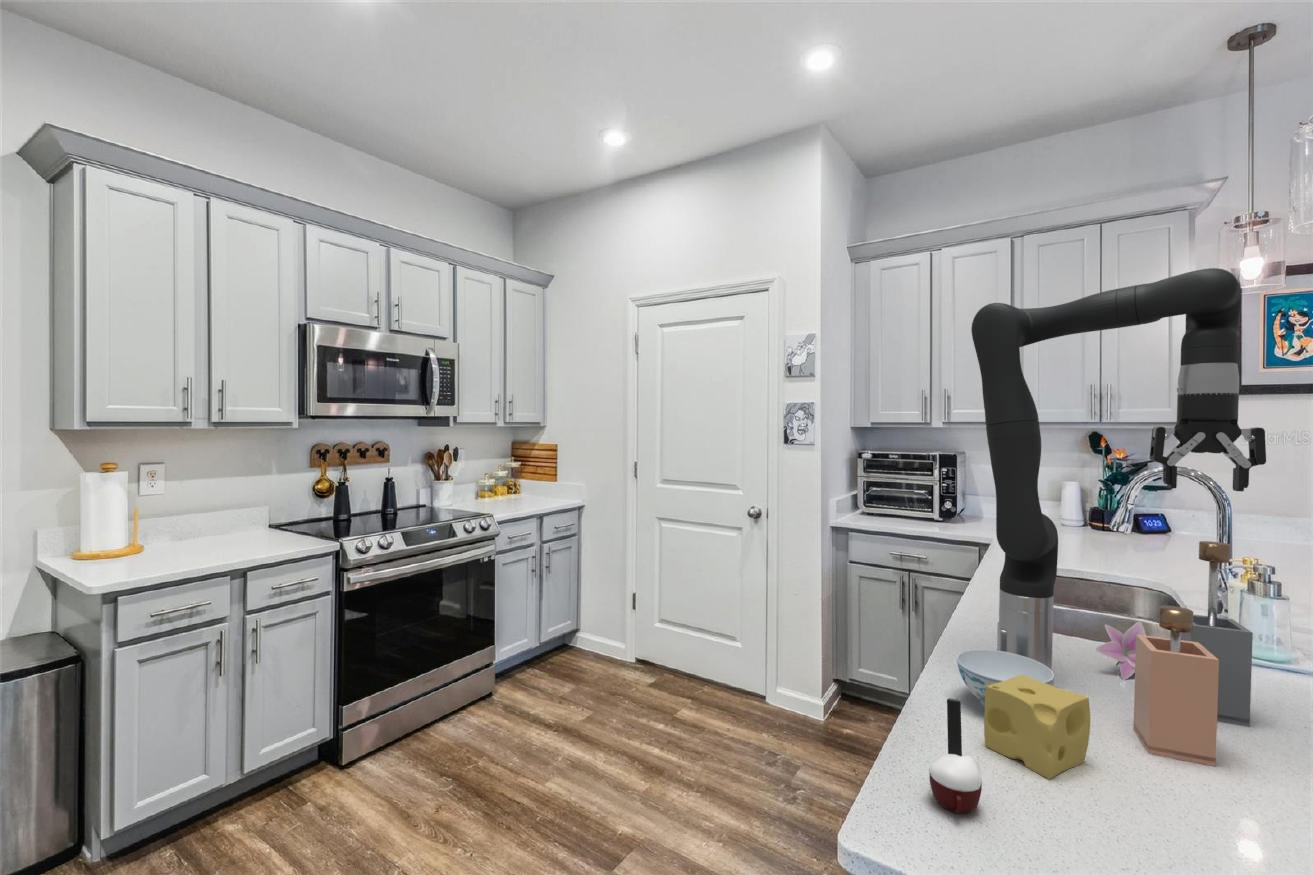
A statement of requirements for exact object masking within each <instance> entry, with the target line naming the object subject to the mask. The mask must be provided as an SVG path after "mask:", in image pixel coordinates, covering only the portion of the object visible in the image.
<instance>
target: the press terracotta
mask: <svg viewBox="0 0 1313 875" xmlns="http://www.w3.org/2000/svg"><path fill="white" fill-rule="evenodd" d="M1218 674H1219V660H1218V659H1217V658H1216V657H1215V656H1214V655H1213V654H1211V653H1210V652H1209V651H1208V650H1207V649H1206V648H1204V647H1203V646H1202V645H1201V644H1200V643H1199V642H1192V641H1184V640H1180V653H1178V652H1171V651H1170V638H1167V637H1159V636H1151V635H1146V636H1145V635H1137V634H1136V655H1135V672H1134V694H1133V696H1134V697H1133V698H1134V699H1133V702H1134V703H1133V731H1134V733H1135V735H1136V736H1137V738H1138V739H1139V740H1140V742H1141V744H1142V746H1143V747H1144V749H1145V750H1146V752H1147V754H1151V755H1156V756H1161V757H1166V758H1171V759H1176V760H1182V761H1186V762H1190V763H1191V762H1192V763H1197V764H1201V765H1206V766H1213V767H1217V761H1216V760H1217V759H1216V758H1217V736H1218V735H1217V733H1218V732H1217V730H1218V721H1217V707H1218Z"/></svg>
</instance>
